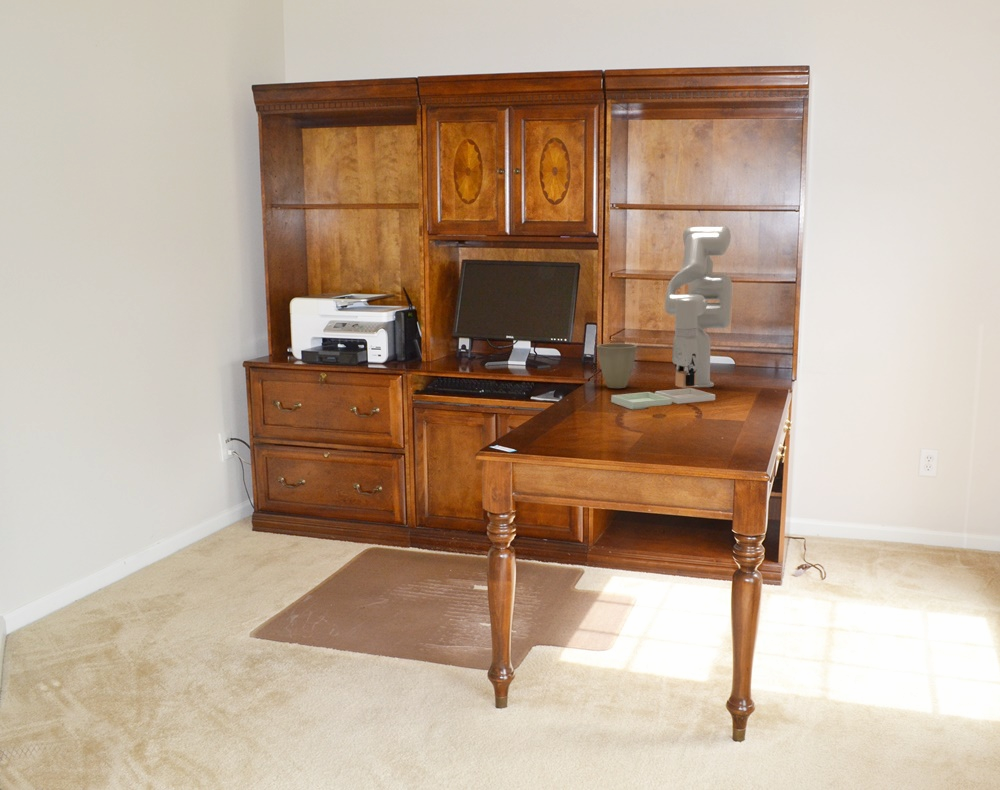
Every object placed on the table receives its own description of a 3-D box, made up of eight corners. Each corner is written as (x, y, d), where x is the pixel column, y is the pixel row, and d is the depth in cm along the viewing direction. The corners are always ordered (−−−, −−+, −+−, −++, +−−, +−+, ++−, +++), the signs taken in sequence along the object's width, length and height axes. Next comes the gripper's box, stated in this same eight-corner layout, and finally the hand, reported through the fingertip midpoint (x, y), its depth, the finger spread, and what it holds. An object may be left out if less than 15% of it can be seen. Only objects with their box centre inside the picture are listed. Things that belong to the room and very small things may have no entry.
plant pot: (643, 386, 363) (644, 344, 361) (621, 391, 352) (621, 348, 350) (611, 382, 373) (612, 342, 370) (589, 387, 362) (589, 346, 360)
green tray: (611, 402, 332) (611, 395, 331) (648, 398, 337) (649, 391, 337) (632, 409, 318) (632, 402, 317) (671, 406, 323) (671, 398, 323)
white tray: (655, 398, 338) (655, 391, 337) (691, 394, 343) (691, 388, 343) (677, 405, 324) (678, 398, 324) (715, 401, 330) (715, 394, 329)
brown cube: (675, 385, 335) (675, 371, 334) (687, 384, 337) (687, 370, 336) (683, 388, 331) (683, 374, 330) (695, 386, 332) (695, 372, 331)
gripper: (663, 330, 336) (663, 381, 340) (690, 337, 321) (689, 389, 325) (682, 329, 339) (681, 379, 343) (709, 335, 323) (708, 387, 327)
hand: (685, 383), depth 334 cm, fingers closed on brown cube, 4 cm apart
